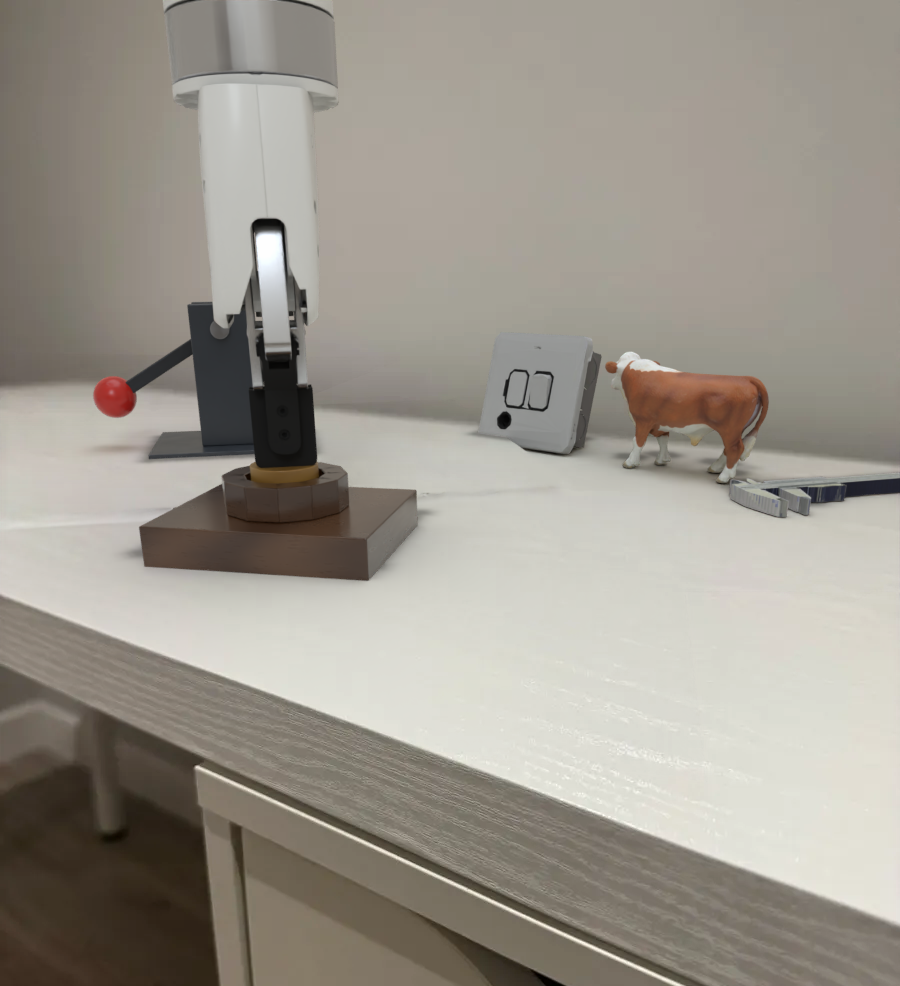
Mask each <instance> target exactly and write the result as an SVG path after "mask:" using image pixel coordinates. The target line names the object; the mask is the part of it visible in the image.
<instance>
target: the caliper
mask: <svg viewBox="0 0 900 986" xmlns="http://www.w3.org/2000/svg"><path fill="white" fill-rule="evenodd" d="M897 493H900V472H889V473H877V474H862V475H852V476H851V475H849V476H836V477H825V476H813V477H800V478H787V479H771V480H763V481H762V482H761V481H760V482H759V481H756V480H754V479H752V478H749V477H746V481H745V480H744V481H743V480H738V479H734V478H730V479H729V490H728V495H730V496H729V499H730V500H732V501H733V502H736V503H737V504H738V505H741V506H743V507H745V508H748V509H752V510H753V511H754V510H755V511H758V512H761V513H764V514H766V515H770V516H774V517H778V518H787V517H788V510H791V511H793V512H796V513H799V514H801V515H803V516H808V515H809V514H810V510H811V508H810V507H811V504H812V503H828V502H843V501H845V498H849V497H862V496H872V495H873V496H874V495H885V494H897Z"/></svg>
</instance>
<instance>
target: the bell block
mask: <svg viewBox="0 0 900 986" xmlns="http://www.w3.org/2000/svg"><path fill="white" fill-rule="evenodd" d="M317 462H318V467H319V478H316V479H311V480H307V481H302V482H291V483H258V482H254V481H251V475H250V465H246V466H241V467H236V468H233V469H231V470H229V471H228V472H226V473H224V474H222V475H221V483H220V484H218V485H217V486H215V487H213V488H210V489H209V490H207V491H205V492H203V493H201V494H199V495H197V496H195V497H194V498H191V499H189V500H187V501H186V502H184V503H182V504H179V505H177V506H176V507H174V508H172V509H170V510H168V511H166V512H164V513H163V514H161V515H158V516H157V517H155V518H153V519H150V520H149V521H147V522H145V523H143V524H141V525H139V527H138V530H139V531H138V532H139V538H140V547H141V553H142V559H143V567H145V568H156V569H157V568H161V569H176V570H189V571H190V570H191V571H205V572H221V573H237V574H239V573H240V574H254V575H270V576H286V577H298V578H299V577H301V578H318V579H331V580H346V581H347V580H348V581H364V582H368V581H370V580H371V579H372V577H373V576H375V574H377V572H378V571H379V570H380V568H381V567H382V566H383V565H384V564H385V563H386V562H387V561H388V560H389V558H390V557H391V556H392V555H393V554H394V553H395V551H396V550H397V549H398V548H399V547H400V546H401V544H402V543H403V542H404V541H405V540H406V539H407V538H408V536H409V535H410V534H412V532H413V531H414V530H415V529H416V528H417V527H418V492H417V489H411V488H410V489H408V488H387V487H385V488H384V487H361V486H360V487H359V486H349V474H348V472H347V471H346V470H345V469H344V468H343V467H342V465H338V464H337V465H336V464H332V463H327V462H322V461H320V462H319V461H317Z"/></svg>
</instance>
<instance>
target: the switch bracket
mask: <svg viewBox="0 0 900 986" xmlns="http://www.w3.org/2000/svg"><path fill="white" fill-rule="evenodd" d="M186 306H187V307H186V308H187V315H188V317H187V318H188V326H189V334H190V339H191V345H192V361H193V372H194V379H195V380H194V381H195V389H196V397H197V407H198V417H199V426H200V430H184V431H163V432H162V433H160V435H159V437H158V439H157V440H156V443H155V444H154V445H153V447H152V449H151V450H150V452H149V454H148V460H160V459H162V460H163V459H164V460H165V459H180V458H181V459H182V458H183V459H184V458H185V459H186V458H204V457H207V458H208V457H226V456H245V455H246V456H248V455H250V456H251V455H255V453H254V443H253V432H252V421H251V411H250V400H249V387H253V383H252V373H251V362H250V352H249V341H248V336H247V320H246V310H242V311H241V312H240V314H234V322H233V324H232V325H231V327H230V328H222V327H221V326H219V325H218V324H217V323H216V322H215V321H214V315H213V301H191V302H190V303H188V304H187V305H186Z"/></svg>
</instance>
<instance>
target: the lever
mask: <svg viewBox="0 0 900 986" xmlns="http://www.w3.org/2000/svg"><path fill="white" fill-rule="evenodd" d="M191 356H193V354H192V345H191V338H190V339H187V340H186V341H185V342H183V343H182V344H181V345H179V346H178V347H176V348H175V349H173V350H171V351H170V352H168V353H167V354H165V355H164V356H162V357H161V358H159V359H158V360H156V361H154V362H153V363H152V364H150V365H149V366H147V367H146V368H143V370H141V371H139V372H138V373H137V374H135V375H134V376H132V377H131V378H129V379H125V378H124V377H121V376H118V375H117V376H116V375H110V376H105V377H103V378H101V379H100V380H99V381H98V382H97V383H96V384H95V386H94V389H93V392H92V397H93V398H92V399H93V402H94V405H95V407H96V408H97V409H98V411H99V412H100V413H102V414H103V415H105V416H107V417H109V418H112V419H119V418H120V419H121V418H124V417H126V416H128V415H130V414H131V413H132V412H133V411H134V410H135V408H136V406H137V401H138V396H137V392H138V391H139V390H141V389H143V388H144V387H146V386H147V385H149V384H151V382H153V381H155V380H156V379H158V378H159V377H161V376H162V375H164V374H166V373H167V372H169V371H170V370H171V369H174V367H177V365H179V364H181V363H182V362H184V361H185V360H187V359H188V358H189V357H191Z"/></svg>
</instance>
